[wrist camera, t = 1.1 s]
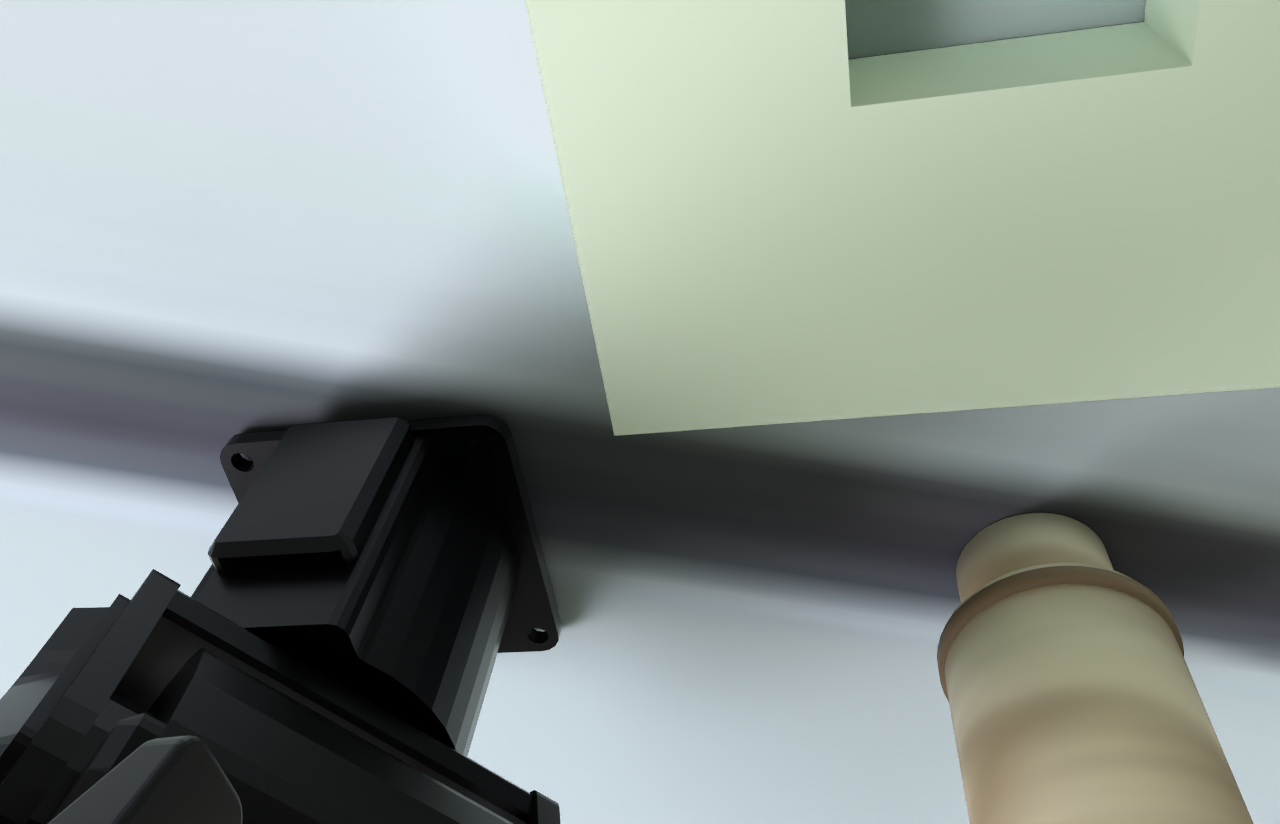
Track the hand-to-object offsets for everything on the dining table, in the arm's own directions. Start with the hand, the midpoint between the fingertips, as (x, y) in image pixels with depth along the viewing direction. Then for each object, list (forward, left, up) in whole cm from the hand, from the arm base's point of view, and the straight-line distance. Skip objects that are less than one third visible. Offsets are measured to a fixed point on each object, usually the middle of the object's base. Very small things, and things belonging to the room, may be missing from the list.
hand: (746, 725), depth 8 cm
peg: (-10, -5, -13) cm, 18 cm away
